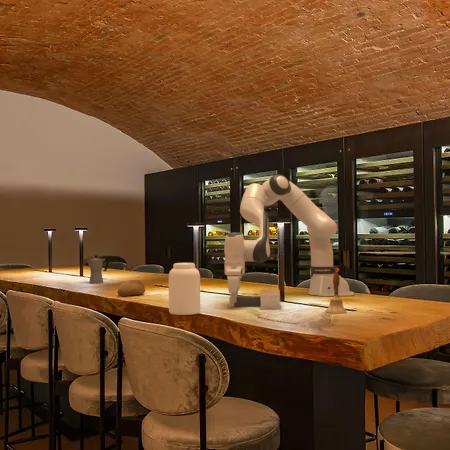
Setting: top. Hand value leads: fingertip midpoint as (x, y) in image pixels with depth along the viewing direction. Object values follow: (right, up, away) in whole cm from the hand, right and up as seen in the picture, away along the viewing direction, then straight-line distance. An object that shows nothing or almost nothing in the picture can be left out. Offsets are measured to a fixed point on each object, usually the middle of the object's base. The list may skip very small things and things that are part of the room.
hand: (234, 301), depth 225 cm
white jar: (-20, -2, -18) cm, 27 cm away
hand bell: (+40, -1, -20) cm, 44 cm away
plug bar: (+6, -2, -1) cm, 6 cm away
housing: (+15, -2, -1) cm, 16 cm away
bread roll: (-52, -3, +41) cm, 67 cm away
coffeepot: (-87, -5, +111) cm, 141 cm away
